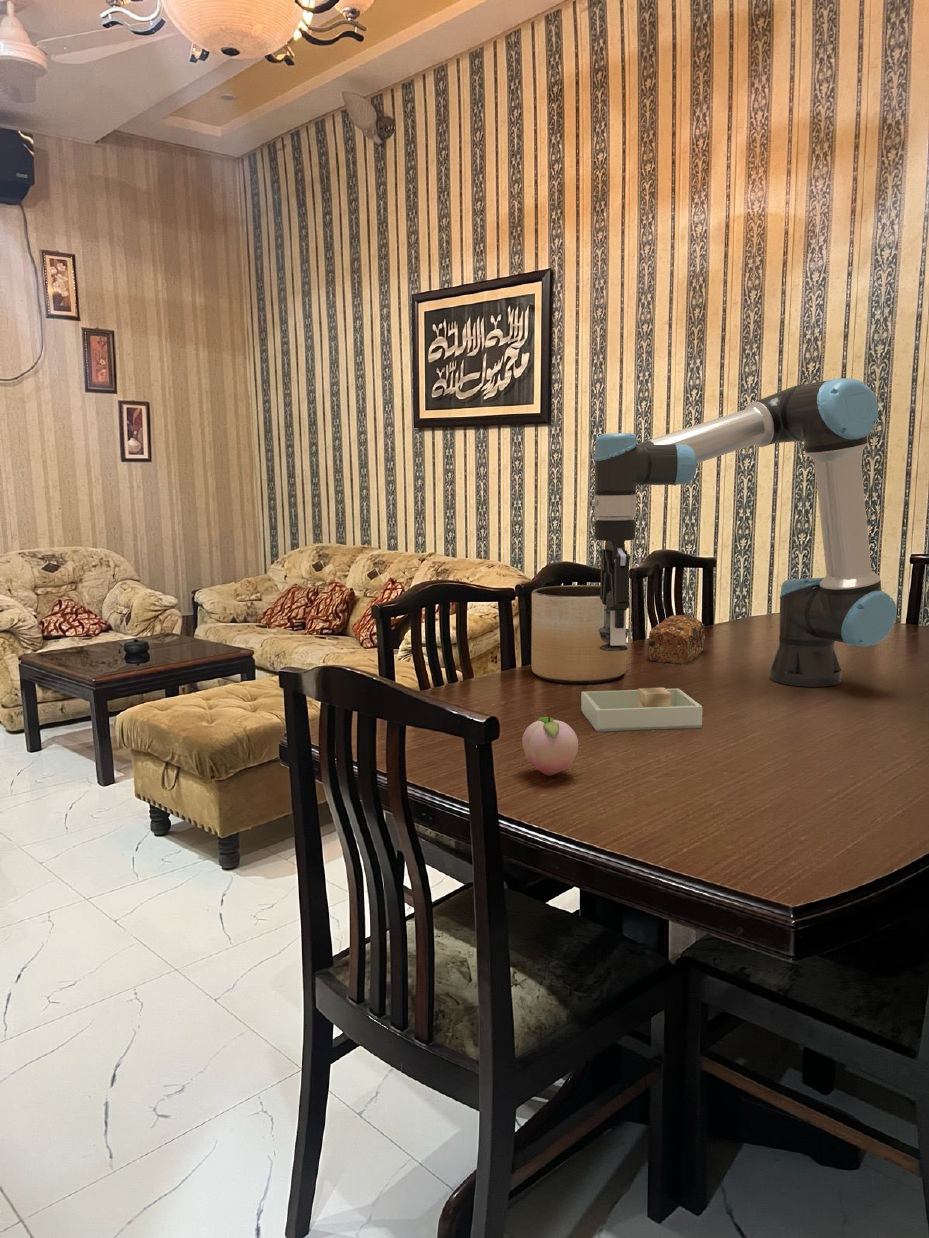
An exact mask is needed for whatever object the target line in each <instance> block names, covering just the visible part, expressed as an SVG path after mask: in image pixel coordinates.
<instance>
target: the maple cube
mask: <svg viewBox="0 0 929 1238" xmlns="http://www.w3.org/2000/svg"><path fill="white" fill-rule="evenodd" d="M666 689H667V688H665V687H639V688H638V689H637V690H638V708H648V707H671V693H670V692H669V691H667V690H666Z"/></svg>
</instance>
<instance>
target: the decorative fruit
mask: <svg viewBox="0 0 929 1238" xmlns="http://www.w3.org/2000/svg"><path fill="white" fill-rule="evenodd" d="M521 742H522V748H523V751H524V753H525V756H526V758H527V760H528V761H529V762H530V764H531V765H532V766H533V767H534V768H536V769H537V770H538V771H539V772H540V773H542V774H544V775H545V776H547V777H550V776H553V775H557V774H558V773H561V772H562V771H564V770H566V769H567V768H568V767H569V766H570V765H571V764H572V763H573V762H574V760H575V758H576V757H577V753H578V750H579V739H578V736H577V734H576V732H575V730H573V728H572V727H571V726H570V725H569V724H568V723H566V722H564V721H561V720H558V719H554V718H552V717H551V713H547V716H545V717H544V716H541V717H539V718H537V720H536V721H534V722H532V723H531V724H530V725H528V726H527V728H526V729H525V731H524V732H523V735H522V739H521Z"/></svg>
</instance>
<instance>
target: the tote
mask: <svg viewBox="0 0 929 1238" xmlns="http://www.w3.org/2000/svg"><path fill="white" fill-rule="evenodd" d="M665 689H666V690H667V691H669V692H670V693H671V707H648V708H638V689H627V690H626V689H625V690H621V689H620V690H597V691H596V690H594V691H590V690H589V691H581V703H580V704H581V710H580V711H581V713H582V714H583V715H584V717H585V718H586V719H587V721H588V722H589V723H590V725H591V726H592V727H593V728H594V730H595V731H596V732H597V733H599V732H600V733H601V732H622V731H623V732H625V731H649V730H676V729H677V730H678V729H682V730H683V729H701V728H702V729H703V706H702V705H701V704H700V703H698V702H697V701H695V699H693V698H692V697H691V696H689V695H688V694H686V693H685V692H684V691H683V690H681V688H678V687H677V688H665Z"/></svg>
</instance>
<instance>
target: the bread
mask: <svg viewBox="0 0 929 1238" xmlns="http://www.w3.org/2000/svg"><path fill="white" fill-rule="evenodd" d="M705 632H706V628H705V624H703V622H702V621H701V620H699V619H698V618H696V617H692V616H691V615H686V614H677V615H674V614H673V615H671V616H668V617H667V618H666V619H663V620H662V621H661V622H660V623H658V624H656V625H655V626H654V627H652V628H651V629H650V631H649V633H648V646H649V647H648V652H649V659H650V661H652V662H658V663H661V664H662V663H672V664H677V665H678V664H681V665H688V664H689V663H691V662H692V661H693V660H694V659H696V658H697V657H698V656H699V655H701V654H702V652H703V649H704V645H705V638H706V633H705Z"/></svg>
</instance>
